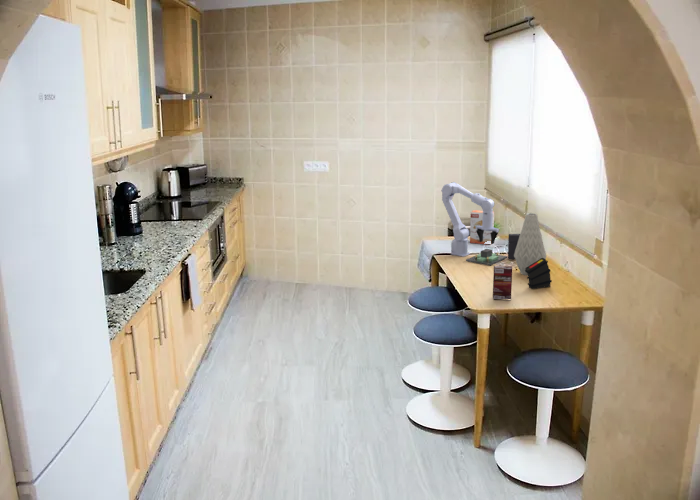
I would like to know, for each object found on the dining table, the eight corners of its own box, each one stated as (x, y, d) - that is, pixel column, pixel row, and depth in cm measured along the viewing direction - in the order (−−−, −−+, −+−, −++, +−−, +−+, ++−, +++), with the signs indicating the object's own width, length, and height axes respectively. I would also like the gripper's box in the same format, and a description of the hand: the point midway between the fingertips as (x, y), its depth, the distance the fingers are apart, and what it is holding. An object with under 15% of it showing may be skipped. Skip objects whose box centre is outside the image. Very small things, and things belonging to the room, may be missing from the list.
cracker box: (469, 243, 399) (470, 211, 394) (472, 241, 404) (472, 209, 399) (491, 245, 393) (491, 213, 387) (493, 242, 398) (494, 211, 392)
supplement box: (493, 300, 296) (493, 268, 292) (492, 296, 301) (493, 265, 297) (511, 300, 295) (512, 268, 290) (510, 297, 299) (511, 265, 295)
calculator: (526, 258, 362) (527, 233, 358) (528, 260, 358) (529, 235, 354) (507, 258, 363) (508, 233, 359) (508, 260, 359) (509, 235, 355)
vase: (543, 279, 323) (546, 218, 315) (510, 276, 330) (512, 216, 321) (547, 270, 338) (550, 211, 329) (516, 267, 345) (518, 210, 336)
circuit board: (471, 259, 360) (471, 251, 359) (484, 253, 371) (484, 246, 369) (488, 262, 352) (488, 254, 351) (501, 256, 363) (502, 249, 362)
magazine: (556, 283, 311) (546, 258, 306) (535, 296, 310) (524, 272, 305) (552, 281, 315) (542, 257, 310) (531, 294, 314) (520, 270, 308)
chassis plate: (465, 261, 360) (465, 255, 359) (483, 253, 374) (483, 248, 373) (490, 265, 350) (490, 260, 349) (507, 257, 364) (507, 252, 363)
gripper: (473, 219, 361) (472, 242, 365) (494, 222, 352) (494, 245, 355) (479, 217, 366) (479, 239, 370) (501, 220, 357) (500, 243, 360)
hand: (486, 242), depth 363 cm, fingers open, 7 cm apart
